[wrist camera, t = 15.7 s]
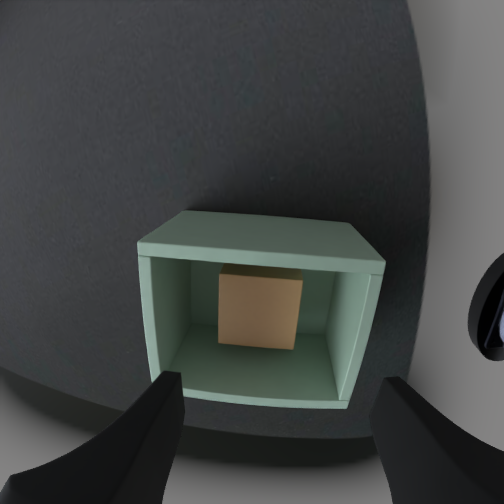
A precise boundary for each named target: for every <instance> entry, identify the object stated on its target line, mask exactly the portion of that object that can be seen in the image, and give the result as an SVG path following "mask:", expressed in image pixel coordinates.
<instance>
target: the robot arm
mask: <svg viewBox="0 0 504 504" xmlns="http://www.w3.org/2000/svg"><path fill="white" fill-rule="evenodd" d="M484 346H485V348H486V349H490V348H500V347H504V290H503V293H502V296H501V300H500V303H499V306H498V309H497V312H496V314H495V317H494V320H493V323H492V325H491V328H490V331H489V333H488V336H487V338H486V341H485V343H484ZM184 415H185V407H184V398H183V388H182V377H181V372H173V371H165V370H164V371H162V372H161V373H160V374H159V376H158V377H157V378H156V379H155V380H154V381H153V383H152V384H151V385H150V386H149V387H148V388H147V389H146V390H145V392H144V393H143V394H142V395H141V396H140V397H139V398H138V399H137V400H136V401H135V402H134V403H133V404H132V405H131V406H130V407H129V408H128V409H127V410H126V411H125V412H124V413H123V414H122V415H120V416H119V417H118V418H117V419H116V420H115V421H114V422H113V423H111V424H110V425H109V426H108V427H106V428H105V429H104V430H103V431H101V432H100V433H99V434H97V435H96V436H94V437H93V438H92V439H91V440H89V441H87V442H86V443H84V444H82V445H81V446H79V447H78V448H76V449H74V450H73V451H71V452H69V453H67V454H65V455H63V456H61V457H59V458H57V459H55V460H53V461H51V462H49V463H46V464H44V465H41V466H39V467H36V468H33V469H30V470H27V471H24V472H21V473H17V474H13V475H11V476H10V477H9V479H8V480H7V482H6V483H5V485H4V487H3V489H2V491H1V492H0V504H162V500H163V495H164V490H165V486H166V483H167V479H168V476H169V472H170V469H171V466H172V463H173V460H174V457H175V453H176V450H177V447H178V444H179V440H180V437H181V432H182V427H183V421H184ZM369 417H370V423H371V428H372V433H373V438H374V441H375V444H376V447H377V450H378V453H379V456H380V459H381V462H382V465H383V468H384V471H385V474H386V477H387V480H388V483H389V487H390V491H391V496H392V502H393V504H504V451H502V450H499V449H497V448H495V447H493V446H491V445H489V444H486V443H485V442H483V441H481V440H479V439H477V438H476V437H474V436H472V435H471V434H469V433H467V432H466V431H464V430H463V429H461V428H460V427H459V426H457V425H456V424H454V423H453V422H452V421H450V420H449V419H448V418H446V417H445V416H444V415H443V414H442V413H440V412H439V411H438V410H437V409H436V408H434V407H433V406H432V405H431V404H430V403H428V402H427V401H426V400H425V399H424V398H423V397H422V396H420V395H419V394H418V393H417V392H416V391H415V390H414V389H413V388H412V387H410V386H409V385H408V384H407V383H406V382H405V381H404V380H402V379H401V378H400V377H386V378H384V380H383V382H382V385H381V388H380V390H379V393H378V395H377V398H376V400H375V403H374V405H373V408H372V410H371V412H370V415H369Z"/></svg>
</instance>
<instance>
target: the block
mask: <svg viewBox="0 0 504 504" xmlns="http://www.w3.org/2000/svg"><path fill="white" fill-rule="evenodd" d="M302 288H303V276H302V271H301V269H297V268H284V267H272V266H259V265H247V264H235V263H224V264H223V267H222V269H221V271H220V273H219V298H218V343H222V344H231V345H241V346H252V347H264V348H276V349H291V350H293V349H294V344H295V338H296V331H297V324H298V317H299V310H300V303H301V295H302Z"/></svg>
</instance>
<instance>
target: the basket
mask: <svg viewBox="0 0 504 504" xmlns="http://www.w3.org/2000/svg"><path fill="white" fill-rule="evenodd" d="M138 255H139V256H138V261H139V276H140V288H141V300H142V310H143V320H144V328H145V337H146V345H147V352H148V359H149V366H150V373H151V379H152V383H153V381H154V380H155V379H156V378H157V377H158V376H159V374H160V373H161V372H162V371H164V370H165V371H173V372H181V377H182V388H183V396H187V397H193V398H200V399H207V400H214V401H222V402H230V403H239V404H250V405H261V406H275V407H293V408H347V407H348V404H349V400H350V397H351V394H352V391H353V388H354V385H355V382H356V379H357V376H358V372H359V369H360V366H361V363H362V359H363V356H364V352H365V349H366V345H367V341H368V338H369V334H370V330H371V326H372V322H373V319H374V314H375V310H376V306H377V302H378V298H379V293H380V289H381V284H382V279H383V274H384V270H385V264H386V261H385V260H384V259H383V258H382V257H381V256H380V255H379V253H378V252H377V251H376V250H375V249H374V248H373V247H372V246H371V245H370V244H369V243H368V242H367V241H366V240H365V239H364V238H363V237H362V236H361V235H360V233H359V232H358V231H357V230H356V229H355V228H354V227H353V226H352V225H351V224H350V223H345V222H335V221H324V220H313V219H302V218H290V217H278V216H265V215H251V214H237V213H222V212H206V211H188V210H184V211H183V212H181V213H179V214H178V215H176V216H175V217H173V218H172V219H170V220H169V221H167V222H166V223H164V224H163V225H161V226H160V227H158V228H157V229H156V230H154V231H153V232H151V233H150V234H148V235H147V236H145V237H144V238H142V239H141V240H139V241H138ZM224 263H235V264H247V265H259V266H272V267H284V268H297V269H301V271H302V276H303V288H302V295H301V303H300V310H299V317H298V324H297V331H296V338H295V344H294V349H293V350H291V349H276V348H264V347H252V346H241V345H231V344H222V343H218V298H219V273H220V271H221V269H222V267H223V264H224Z"/></svg>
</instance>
